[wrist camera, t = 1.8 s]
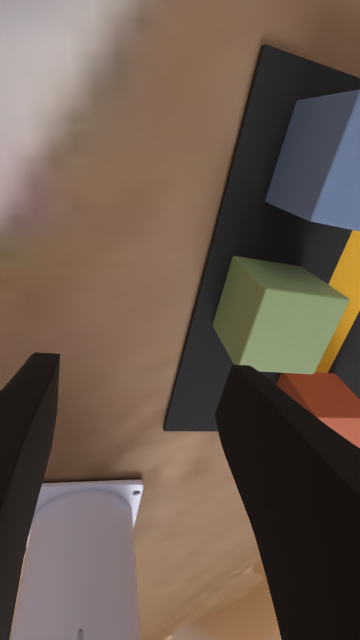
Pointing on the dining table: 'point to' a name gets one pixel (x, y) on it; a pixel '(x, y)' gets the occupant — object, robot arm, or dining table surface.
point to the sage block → (276, 316)
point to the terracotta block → (326, 401)
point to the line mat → (267, 240)
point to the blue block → (321, 162)
